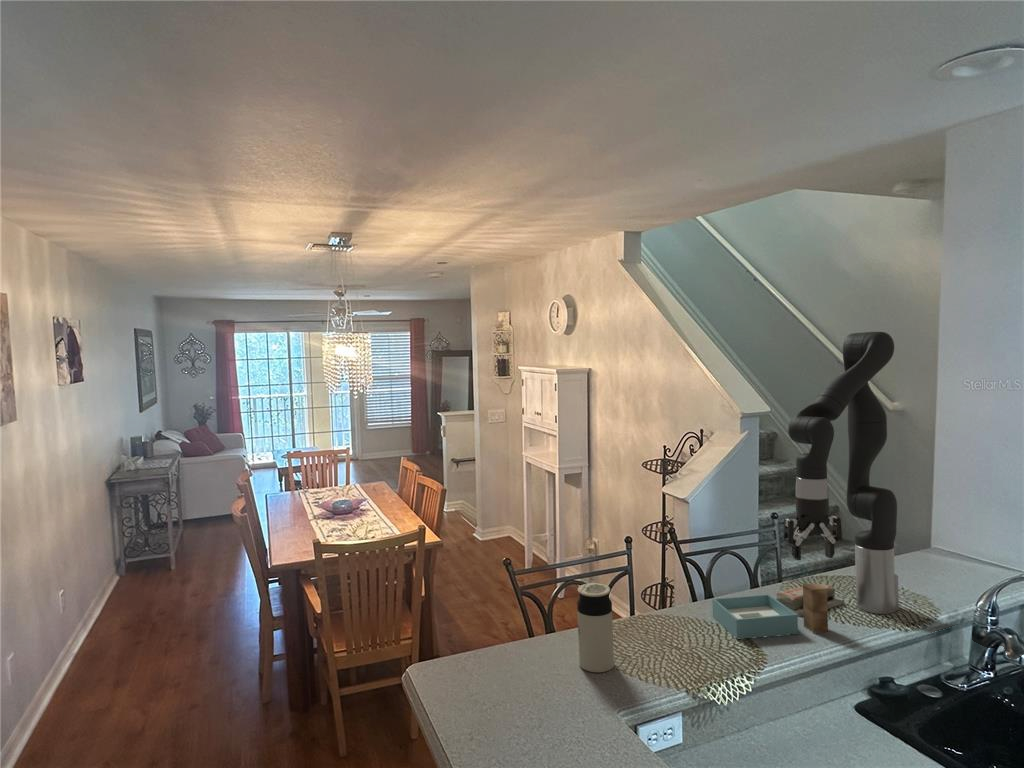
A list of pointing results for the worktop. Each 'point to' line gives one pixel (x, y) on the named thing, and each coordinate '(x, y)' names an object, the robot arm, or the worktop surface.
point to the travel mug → (595, 628)
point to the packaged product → (795, 599)
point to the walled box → (754, 616)
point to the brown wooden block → (815, 607)
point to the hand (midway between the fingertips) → (813, 558)
